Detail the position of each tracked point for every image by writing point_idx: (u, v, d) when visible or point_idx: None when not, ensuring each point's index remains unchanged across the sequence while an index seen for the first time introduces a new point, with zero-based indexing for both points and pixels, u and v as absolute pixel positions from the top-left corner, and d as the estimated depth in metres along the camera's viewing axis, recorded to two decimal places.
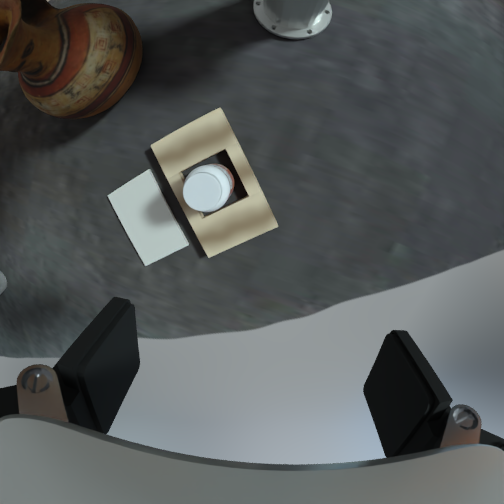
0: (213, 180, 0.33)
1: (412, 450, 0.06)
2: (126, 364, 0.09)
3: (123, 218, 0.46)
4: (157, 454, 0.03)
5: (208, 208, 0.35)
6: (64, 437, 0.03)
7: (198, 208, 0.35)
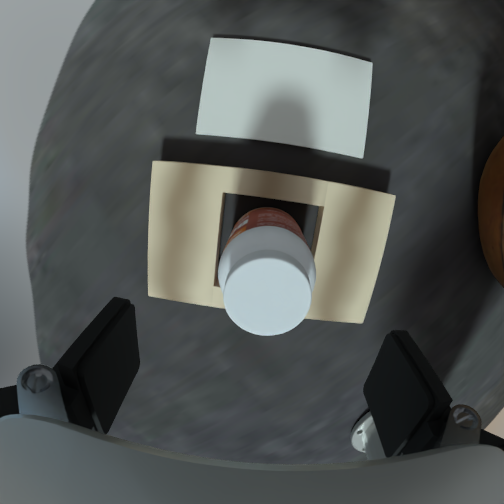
0: (273, 332, 0.16)
1: (412, 450, 0.06)
2: (126, 364, 0.09)
3: (317, 56, 0.20)
4: (157, 454, 0.03)
5: (226, 291, 0.15)
6: (64, 437, 0.03)
7: (237, 273, 0.15)
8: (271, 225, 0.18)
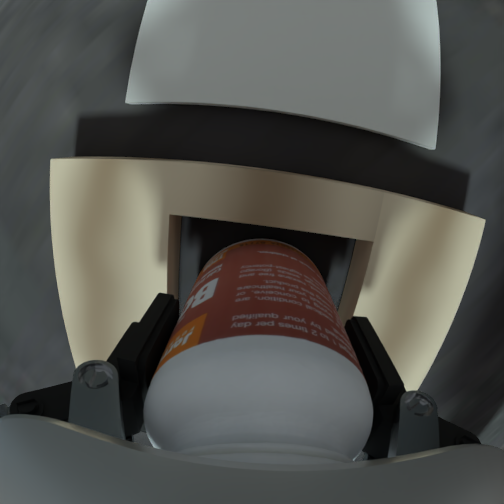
0: None
1: None
2: None
3: None
4: (157, 454, 0.03)
5: None
6: (64, 437, 0.03)
7: None
8: (270, 332, 0.06)
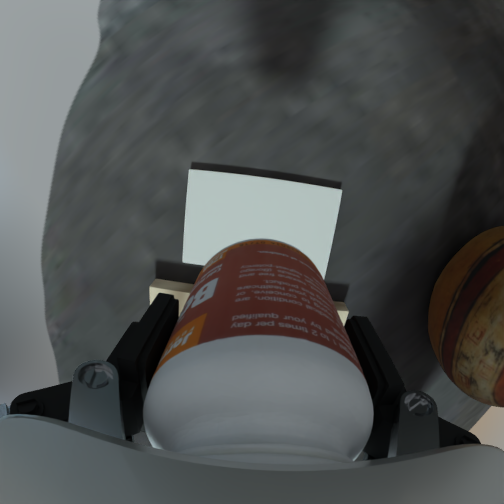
0: None
1: None
2: None
3: (288, 189, 0.26)
4: (157, 454, 0.03)
5: None
6: (64, 437, 0.03)
7: None
8: (270, 332, 0.06)
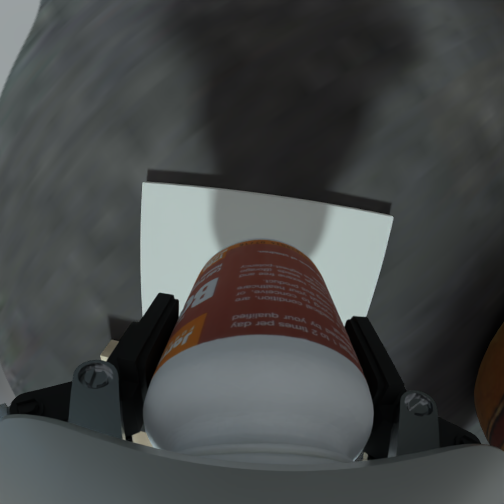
0: None
1: None
2: None
3: (308, 215, 0.15)
4: (157, 454, 0.03)
5: None
6: (64, 437, 0.03)
7: None
8: (270, 331, 0.06)
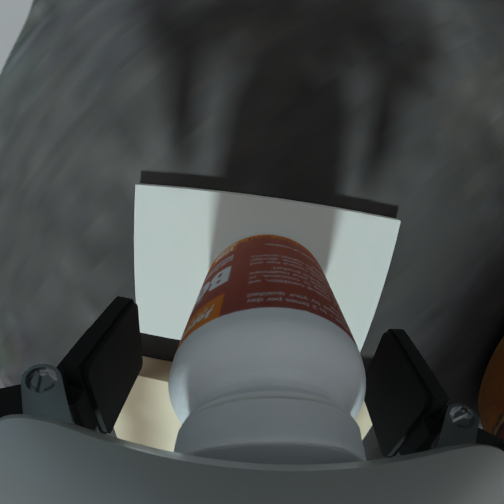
0: None
1: (409, 449, 0.06)
2: (129, 363, 0.09)
3: (311, 219, 0.14)
4: (157, 454, 0.03)
5: None
6: (64, 437, 0.03)
7: None
8: (279, 305, 0.08)
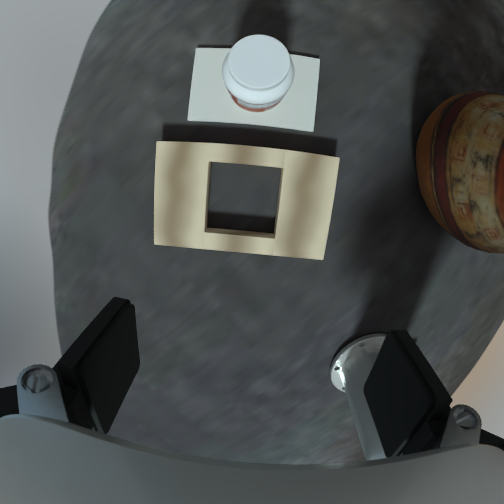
0: (265, 84, 0.19)
1: (412, 450, 0.06)
2: (126, 364, 0.09)
3: None
4: (157, 454, 0.03)
5: (230, 56, 0.18)
6: (64, 437, 0.03)
7: (238, 44, 0.17)
8: None
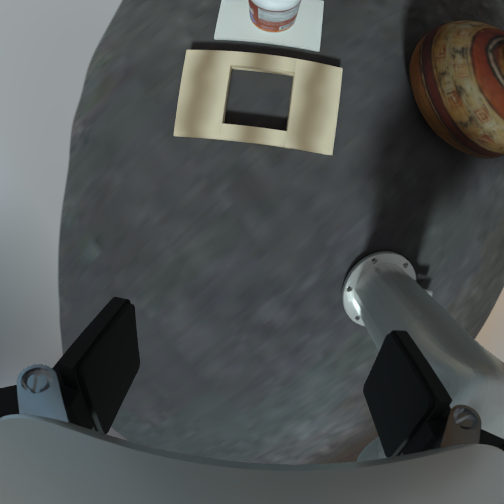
0: None
1: (412, 450, 0.06)
2: (126, 364, 0.09)
3: None
4: (157, 454, 0.03)
5: None
6: (64, 437, 0.03)
7: None
8: None
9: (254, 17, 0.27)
